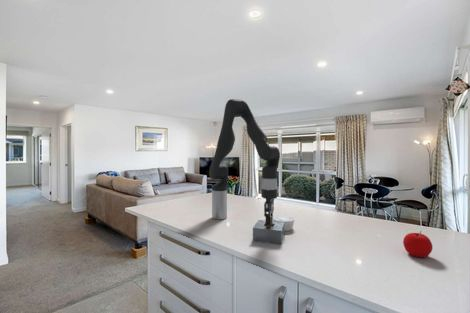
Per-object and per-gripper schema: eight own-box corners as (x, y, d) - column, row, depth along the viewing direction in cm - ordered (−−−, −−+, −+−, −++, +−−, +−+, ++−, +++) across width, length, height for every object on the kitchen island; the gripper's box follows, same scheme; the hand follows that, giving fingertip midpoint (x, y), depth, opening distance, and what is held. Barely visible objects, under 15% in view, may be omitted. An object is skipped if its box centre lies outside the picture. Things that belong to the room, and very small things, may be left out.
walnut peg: (266, 235, 113) (266, 215, 113) (272, 236, 112) (272, 215, 112) (265, 238, 110) (265, 217, 110) (271, 238, 109) (272, 217, 109)
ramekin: (268, 228, 124) (268, 218, 124) (279, 223, 132) (280, 214, 132) (287, 233, 116) (287, 223, 116) (297, 228, 125) (298, 218, 124)
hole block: (258, 231, 119) (258, 219, 119) (284, 234, 115) (284, 222, 115) (252, 240, 106) (252, 227, 106) (281, 244, 102) (281, 230, 102)
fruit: (423, 262, 86) (424, 235, 85) (398, 252, 94) (398, 228, 94) (437, 258, 89) (438, 232, 89) (412, 249, 98) (412, 225, 97)
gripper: (264, 185, 118) (264, 218, 118) (258, 189, 104) (258, 226, 105) (279, 186, 116) (279, 219, 116) (275, 190, 102) (275, 228, 102)
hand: (269, 222), depth 110 cm, fingers open, 6 cm apart
